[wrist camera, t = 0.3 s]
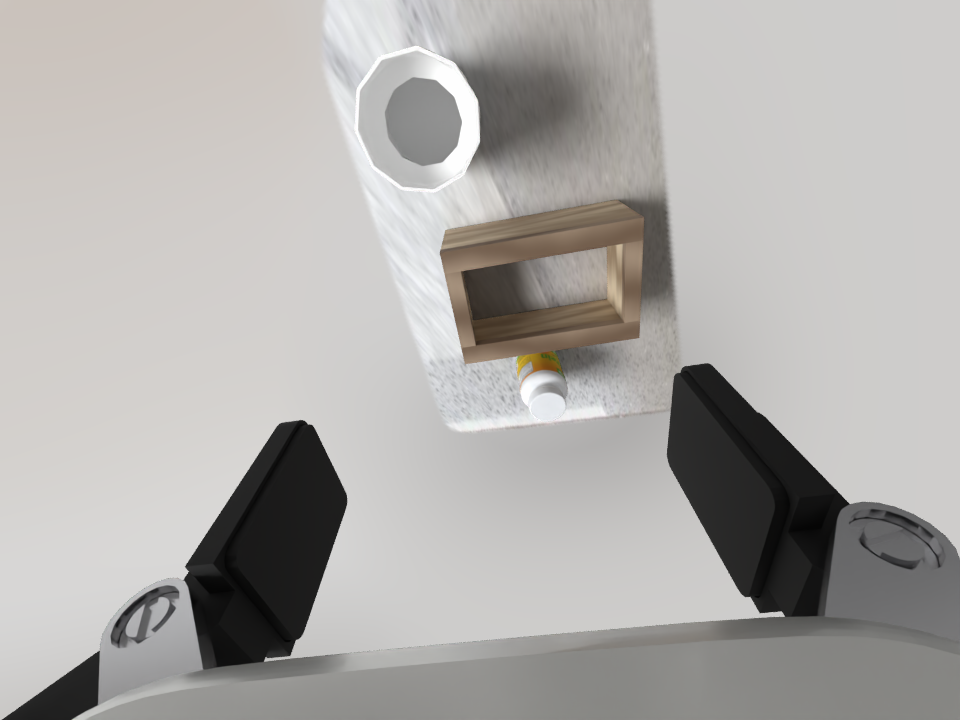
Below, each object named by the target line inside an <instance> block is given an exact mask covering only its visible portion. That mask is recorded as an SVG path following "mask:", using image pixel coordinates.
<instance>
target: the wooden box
mask: <svg viewBox="0 0 960 720" xmlns="http://www.w3.org/2000/svg"><path fill="white" fill-rule="evenodd" d="M643 236H644V217H643V216H641V215H640V214H638V213H637V212H635V211H634V210H632V209H630V208H629V207H627V206H626V205H624V204H623V203H621V202H620V201H618V200H612V201H606V202H601V203H595V204H590V205H584V206H578V207H573V208H567V209H562V210H556V211H550V212H545V213H539V214H534V215H528V216H522V217H517V218H511V219H506V220H500V221H495V222H489V223H483V224H478V225H472V226H467V227H461V228H455V229H450V230H445V234H444V238H443V242H442V246H441V250H440V256H441V260H442V265H443V269H444V273H445V278H446V282H447V287H448V291H449V295H450V300H451V304H452V309H453V313H454V317H455V322H456V326H457V331H458V335H459V339H460V344H461V348H462V353H463V357H464V361H465V364H469V363H476V362H483V361H489V360H496V359H502V358H509V357H516V356H522V355H529V354H536V353H542V352H549V351H556V350H562V349H569V348H576V347H582V346H589V345H595V344H602V343H609V342H615V341H622V340H629V339H635V338H639V331H640V307H641V283H642V259H643ZM601 247H607V299H604V300H598V301H592V302H586V303H579V304H573V305H567V306H560V307H554V308H548V309H542V310H535V311H529V312H523V313H517V314H510V315H504V316H498V317H491V318H485V319H479V320H473V317H472V312H471V307H470V302H469V297H468V292H467V287H466V282H465V277H464V272H463V271H466V270H472V269H478V268H483V267H489V266H495V265H501V264H507V263H513V262H519V261H525V260H531V259H537V258H542V257H548V256H554V255H560V254H566V253H572V252H578V251H584V250H590V249H595V248H601Z"/></svg>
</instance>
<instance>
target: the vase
mask: <svg viewBox="0 0 960 720" xmlns="http://www.w3.org/2000/svg"><path fill="white" fill-rule="evenodd" d="M480 116H481V115H480V108H479V103H478V99H477V98H476V96H475V94H474V91H473V89H472V88H471V87H470V85H469V84H468V81H467V78H466V77H465V75H464V74H463V72H462V71H461V70H460V69H459V67H458V66H457V65H456V64H455V63H454V62H452V61H450V60H448V59H446V58H443V57H441V56H439V55H437V54H435V53H434V52H431V51H429V50H427V49H425V48H422V47H420V46H413V47H410V48H406V49H403V50H399V51H396V52H392V53H389V54H385V55H381V56H379V58H378V59H377V60H376V62H375V63H374V65H373V66H372V68H371V69H370V70H369V72H368V73H367V75H366V76H365V78H364V79H363V80H362V82H361V83H360V85H359V86H358V88H357V90H356V113H355V133H356V135H357V137H358V139H359V142H360V144H361V146H362V148H363V150H364V152H365V154H366V156H367V159H368V161H369V163H370V165H371V167H372V168H373V169H374V170H375V171H377V172H378V173H379V174H381V175H382V176H383V177H385V178H386V179H387V180H389V181H390V182H391V183H393V184H394V185H395V186H397V187H398V188H399V189H401V190H408V191H421V192H433V193H435V192H437V191H438V190H440V189H442V188H443V187H445V186H447V185H448V184H450V183H452V182H453V181H455V180H457V179H459V178H460V177H462V176H464V174H465V172H466V170H467V168H468V166H469V164H470V161H471V159H472V157H473V155H474V154H475V153H476V151H477V149H478V146H479V143H480Z"/></svg>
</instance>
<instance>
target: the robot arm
mask: <svg viewBox="0 0 960 720" xmlns="http://www.w3.org/2000/svg"><path fill="white" fill-rule="evenodd" d="M667 458H668V462H669V465H670V467H671V470H672V471H673V473H674V475H675V477H676V479H677V480H678V482H679V484H680V486H681V488H682V489H683V491H684V493H685V495H686V497H687V498H688V500H689V502H690V504H691V506H692V507H693V509H694V511H695V513H696V514H697V516H698V518H699V520H700V522H701V524H702V525H703V527H704V529H705V531H706V532H707V534H708V536H709V538H710V539H711V541H712V543H713V545H714V547H715V549H716V550H717V552H718V554H719V556H720V558H721V559H722V561H723V563H724V565H725V566H726V568H727V570H728V572H729V574H730V576H731V577H732V579H733V581H734V583H735V585H736V586H737V588H738V590H739V591H740V593H741V594H742V595H743V596H745V597H751V598H752V600H753V602H754V604H755V605H756V607H757V609H758V611H759V612H760V613H768V612H778V611H782V612H783V614H784V615H785V617H768V618H754V619H738V620H723V621H709V622H694V623H680V624H669V625H656V626H645V627H633V628H621V629H610V630H598V631H587V632H576V633H563V634H551V635H540V636H529V637H518V638H507V639H496V640H484V641H473V642H463V643H452V644H441V645H430V646H419V647H408V648H398V649H387V650H377V651H367V652H357V653H346V654H336V655H325V656H315V657H304V658H294V659H285V660H276V661H268V662H264V660H265V657H267V658H274V657H285V656H290V655H291V652H292V649H293V646H294V644H295V641H296V640H297V639H299V638H300V637H301V636H302V634H303V632H304V630H305V627H306V624H307V621H308V619H309V616H310V613H311V610H312V607H313V603H314V601H315V598H316V595H317V592H318V589H319V586H320V583H321V580H322V577H323V574H324V571H325V569H326V565H327V562H328V560H329V557H330V554H331V551H332V548H333V545H334V542H335V539H336V536H337V533H338V530H339V527H340V524H341V521H342V518H343V516H344V513H345V509H346V506H347V495H346V492H345V490H344V488H343V486H342V484H341V482H340V480H339V478H338V475H337V473H336V471H335V469H334V467H333V465H332V463H331V461H330V459H329V457H328V455H327V453H326V451H325V449H324V447H323V445H322V443H321V441H320V438H319V436H318V434H317V432H316V430H315V428H314V427H313V426H312V425H308V424H307V423H306V422H305V421H303V420H299V421H292V422H285V423H281V424H279V425H278V426H277V427H276V429H275V430H274V432H273V433H272V435H271V436H270V438H269V440H268V441H267V443H266V444H265V446H264V447H263V449H262V450H261V452H260V453H259V455H258V456H257V458H256V459H255V461H254V462H253V464H252V465H251V467H250V469H249V470H248V472H247V473H246V475H245V476H244V478H243V479H242V481H241V482H240V484H239V485H238V487H237V488H236V490H235V491H234V493H233V494H232V496H231V497H230V499H229V501H228V502H227V504H226V505H225V507H224V508H223V510H222V511H221V513H220V514H219V516H218V517H217V519H216V520H215V522H214V523H213V525H212V526H211V528H210V529H209V531H208V533H207V534H206V535H205V537H204V538H203V540H202V542H201V543H200V545H199V546H198V548H197V549H196V551H195V552H194V554H193V555H192V557H191V558H190V560H189V561H188V563H187V564H186V566H185V567H186V569H187V570H188V571H189V572H188V574H187V576H186V577H185V579H184V580H181V579H179V578H168V579H164V580H161V581H159V582H156V583H154V584H152V585H150V586H148V587H146V588H144V589H143V590H141V591H140V592H139V593H137V594H136V595H134V596H133V597H132V598H131V599H129V600H128V601H127V602H126V603H125V604H124V605H123V606H122V607H121V608H120V609H119V610H118V611H117V613H116V614H115V615H114V616H113V618H112V619H111V620H110V622H109V623H108V625H107V627H106V629H105V631H104V633H103V635H102V639H101V643H100V651H99V652H97V653H95V654H94V655H93V656H91V657H90V658H88V659H87V660H86V661H84V662H83V663H81V664H80V665H79V666H77V667H76V668H74V669H73V670H72V671H70V672H69V673H67V674H66V675H64V676H63V677H62V678H60V679H59V680H57V681H56V682H55V683H53V684H52V685H50V686H49V687H47V688H46V689H45V690H43V691H42V692H40V693H39V694H38V695H36V696H35V697H33V698H32V699H30V700H29V701H28V702H26V703H25V704H23V705H22V706H21V707H19V708H18V709H16V710H15V711H14V712H12V713H11V714H9V715H8V716H7V717H5V718H4V719H2V720H960V558H959V556H958V553H957V550H956V548H955V547H954V546H953V545H952V544H951V542H950V541H949V540H948V538H947V537H946V536H945V535H944V534H943V533H941V532H940V531H939V530H938V529H936V528H935V527H934V526H932V525H931V524H930V523H928V522H926V521H925V520H923V519H921V518H919V517H917V516H916V515H914V514H912V513H909V512H907V511H904V510H902V509H899V508H897V507H894V506H889V505H885V504H881V503H874V502H859V503H854V504H849V503H848V502H847V501H846V500H845V499H844V498H843V497H842V496H841V495H840V494H839V493H838V491H837V490H836V489H834V487H833V486H832V485H831V484H829V482H828V481H827V480H826V479H825V478H824V477H823V476H822V475H821V474H820V473H819V472H818V471H817V470H816V469H815V468H814V467H813V466H812V465H811V464H810V463H809V462H808V461H807V460H806V459H805V458H804V457H803V455H801V453H800V452H799V451H798V450H797V449H796V448H795V447H794V446H793V445H792V444H791V443H790V442H789V441H788V440H787V439H786V438H785V437H784V436H783V435H782V434H781V433H780V432H779V431H778V430H777V429H776V428H775V427H774V426H773V425H772V424H771V423H770V422H769V421H768V419H767V418H766V417H764V416H763V415H762V414H760V413H757V412H756V411H755V410H754V409H753V408H752V406H751V405H750V404H749V403H748V402H747V401H746V400H745V399H744V398H743V397H742V396H741V395H740V394H739V393H738V392H737V391H736V390H735V389H734V388H733V387H732V386H731V385H730V384H729V383H728V382H727V381H726V379H725V378H724V377H723V376H722V375H721V374H720V373H719V372H718V371H717V370H716V369H715V368H714V367H713V366H712V365H711V364H708V363H707V364H699V365H692V366H685V367H683V368H682V370H681V373H677V374H675V376H674V383H673V394H672V405H671V416H670V428H669V437H668V448H667Z"/></svg>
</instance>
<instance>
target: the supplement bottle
mask: <svg viewBox="0 0 960 720" xmlns="http://www.w3.org/2000/svg"><path fill="white" fill-rule="evenodd" d="M516 368H517V374H518V381H519V387H520V393H521V397H522V400H523V402H524V403H525V404H526V405H527V406H528V407H529V409H530V413H531V414H532V416H533V417H534V418H536V419H537V420H540V421H553V420H556V419H558V418H559V417H561V416H562V415H563V413H564V412H565V410H566V401H565V398H566V396H567V392H568V388H567V383H566V380H565V377H564V374H563V371H562V368H561V365H560V362H559V359H558V356H557V353H556V352H555V351H549V352H542V353H536V354H529V355H522V356H517V359H516Z"/></svg>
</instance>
